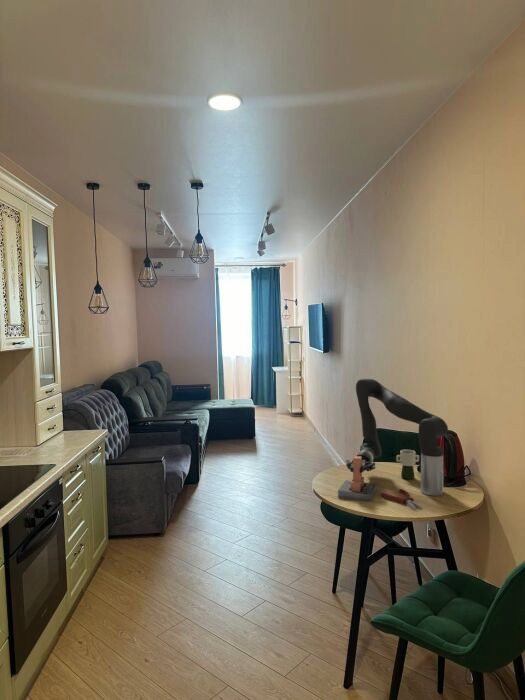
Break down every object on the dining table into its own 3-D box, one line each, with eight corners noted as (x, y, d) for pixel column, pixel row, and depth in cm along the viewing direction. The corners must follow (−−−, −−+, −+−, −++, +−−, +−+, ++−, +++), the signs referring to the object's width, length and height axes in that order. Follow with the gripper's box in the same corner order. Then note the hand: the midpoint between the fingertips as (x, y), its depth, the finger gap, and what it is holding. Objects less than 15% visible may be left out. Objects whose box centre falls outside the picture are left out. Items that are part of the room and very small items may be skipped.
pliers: (407, 514, 182) (407, 507, 182) (379, 496, 201) (379, 490, 201) (431, 510, 186) (431, 503, 186) (401, 493, 205) (401, 487, 205)
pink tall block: (364, 487, 207) (364, 455, 206) (359, 494, 198) (359, 460, 198) (355, 486, 208) (355, 454, 207) (350, 493, 200) (350, 459, 199)
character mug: (417, 475, 227) (417, 449, 226) (421, 480, 220) (421, 453, 219) (394, 475, 227) (394, 449, 227) (398, 480, 220) (398, 453, 219)
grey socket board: (376, 490, 207) (376, 484, 207) (370, 501, 194) (370, 494, 194) (345, 486, 213) (345, 480, 212) (338, 497, 200) (338, 490, 200)
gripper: (349, 450, 218) (340, 460, 203) (379, 453, 213) (372, 463, 197) (349, 465, 219) (340, 476, 203) (379, 469, 213) (372, 480, 197)
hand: (356, 470), depth 200 cm, fingers closed on pink tall block, 3 cm apart
